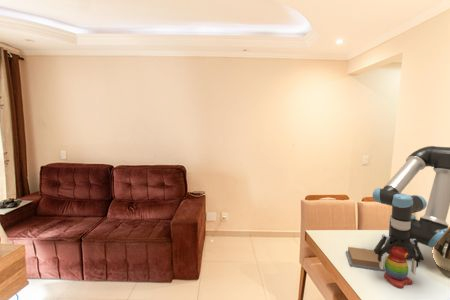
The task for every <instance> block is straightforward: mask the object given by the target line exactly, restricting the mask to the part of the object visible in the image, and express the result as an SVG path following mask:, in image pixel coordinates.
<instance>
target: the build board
mask: <svg viewBox="0 0 450 300" xmlns="http://www.w3.org/2000/svg"><path fill="white" fill-rule="evenodd" d="M345 254H346V257H347V260H348V264H349V267H354V268H359V269H365V270H370V271H371V270H372V271H377V272H383V273H384V272H385V273H386V271H385V266H383V269H381V268H380V266H379V264H380V262H379V261H378V254H375V252H374V249H367V248H361V247H352V246H348V247H347V250H346V251H345Z"/></svg>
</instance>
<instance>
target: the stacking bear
mask: <svg viewBox="0 0 450 300" xmlns="http://www.w3.org/2000/svg"><path fill="white" fill-rule="evenodd" d="M389 251H390V254H389V253H388V255H387V256H386V257H385V260H384V268H385V273H384V275H383V276H384V279H385V280H386V282H388V283H389V284H390V285H392V286H394V288H395V287H396V288H398V289H404V287H405V285H408V286H409V285H413V280H412V279H411V278H410V277H408V274H409V264H408V259H406V257H407V256H408V252H407V250H406V249H405V248H404V247H399V246H394V247H392V248H390V249H389Z"/></svg>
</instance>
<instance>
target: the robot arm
mask: <svg viewBox="0 0 450 300" xmlns="http://www.w3.org/2000/svg"><path fill="white" fill-rule="evenodd" d="M426 167H427V168H428V167H431V168H432V169H433V171H434V173H435V175H434V179H433V183H432V187H431V190H430V194H429V198H428V202H427V201H426V199H425V198H424V197H423V196H422V195H418V194H413V195H409V194H406V193H402V192H403V191H404V190H405V188H406V187H407V186H408V185H409V184H410V182H412V180H413V179H414V178H415V177H416V176H417V174H419V172H420V171H422V170H424V169H425V168H426ZM372 198H373V201H374V202H376V203H379V204H383V205H387V206H390V207H391V214H390V216H389V227H388V235H385V234H381V239H380V240H379V242H378V243H377V245H375V247H374V249H373V250H374V252H375V254H378V261H379V262H380V264H379V266H380V268H381V269H383V267H384V261H385V260H384V258H385V256H384V254H385V253H387V254H388V255H389V254H390V251H389V249H390V248H392V247H394V246H399V247H404V248H405V249H406V250H407V252H408V256H407V257H406V260H411V265H410V267H411V268H410V271H411V273H412V274H413V275H416V270H417V268H418V267H419V264H420V262H421V261H424V260H425V258H424V255H423V254H422V252H421V249H420V248H419V247H420V246H419V244H421V245H423V246H427V247H429V248H432V249H434V248H433V247H434V246H435V245H436V244H437V242H438V241H439V240H440V239H441V238H442V237H443V235H444V234H445V232H446V230H447V229H449V224H448V222H447V218H448V213H449V209H450V146H449V147H447V146H434V145H431V146H430V145H429V146H425V147H421V148H418V149H417V150H415V151H413V152H412V153H410V155H408V157H406V159H405V163H404V164H403V165H402V167H400V168H399V170H398V171H397V172H396V173H395V174H394V176H393V177H392V178H391V179H390V180H389V181H388V182H387V183H386V185H385V186H384V187H383V188H380V187H378V188H377V187H376V188H375V189H374V190H373V192H372ZM423 210H425V213H424V215H422V216H420V217H419V219H417V218H416V216H415V214H416V213H419V212H421V211H423Z"/></svg>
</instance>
